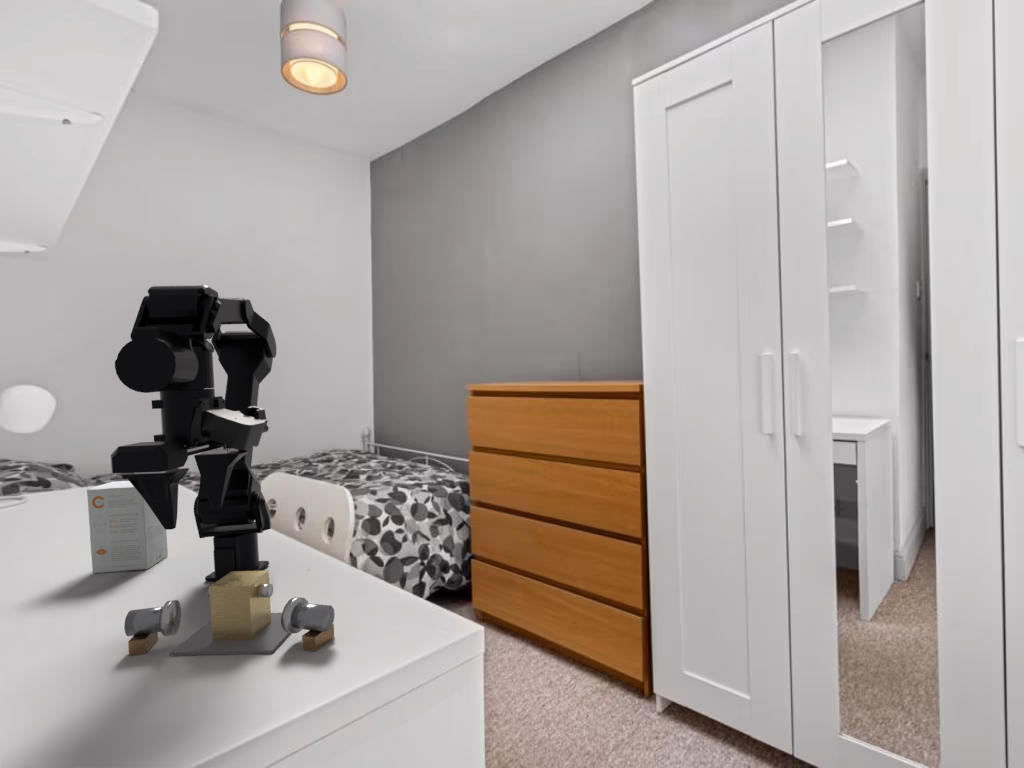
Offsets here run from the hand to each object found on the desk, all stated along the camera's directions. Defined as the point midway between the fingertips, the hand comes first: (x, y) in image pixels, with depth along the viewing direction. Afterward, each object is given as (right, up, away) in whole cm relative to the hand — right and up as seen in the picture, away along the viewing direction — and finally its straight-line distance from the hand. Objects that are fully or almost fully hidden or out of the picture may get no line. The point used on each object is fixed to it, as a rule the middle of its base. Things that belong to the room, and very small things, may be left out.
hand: (195, 518), depth 67 cm
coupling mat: (+8, -12, -5) cm, 15 cm away
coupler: (+8, -12, -5) cm, 15 cm away
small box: (-22, -13, +20) cm, 32 cm away
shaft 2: (+17, -12, -8) cm, 22 cm away
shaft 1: (0, -12, -7) cm, 14 cm away
